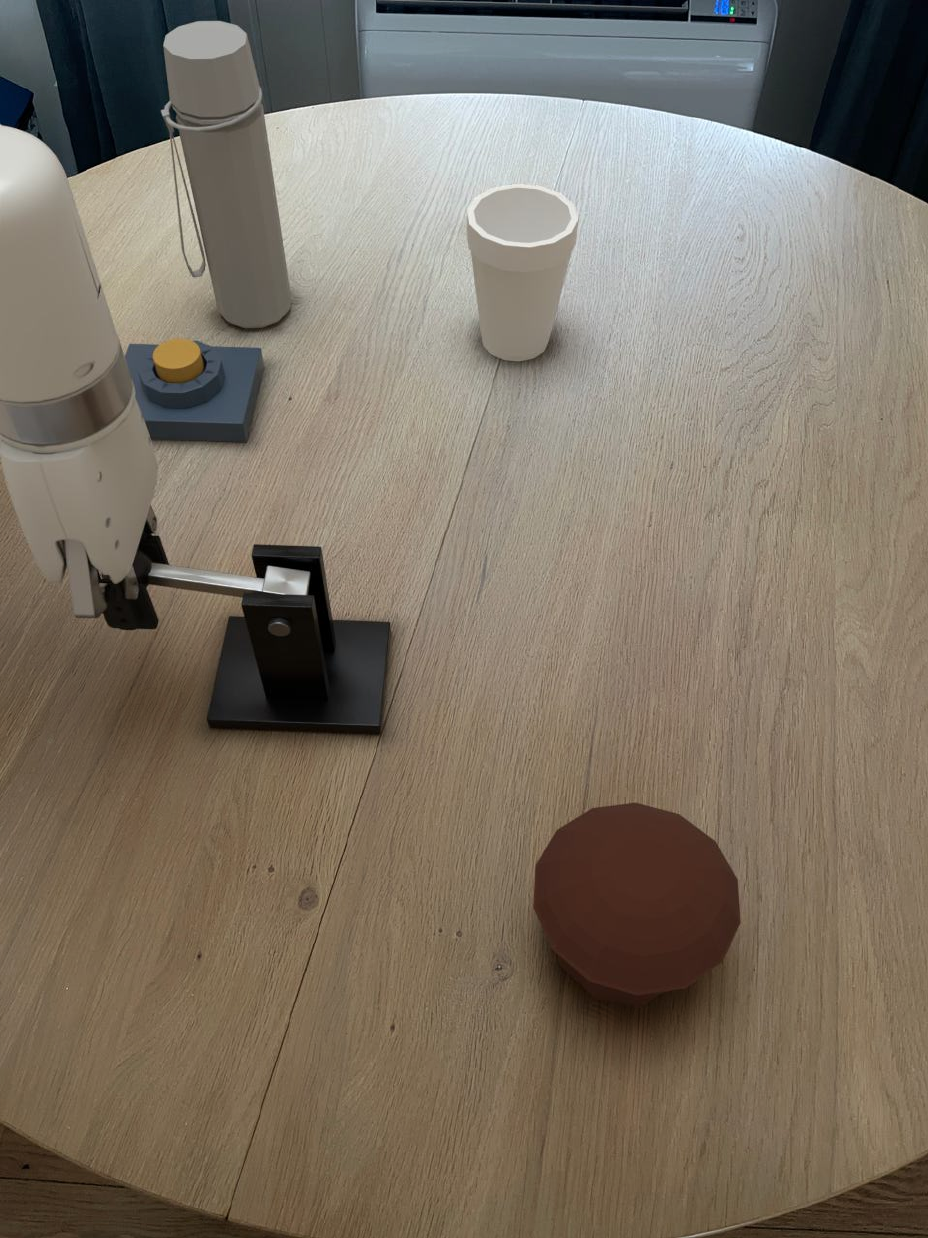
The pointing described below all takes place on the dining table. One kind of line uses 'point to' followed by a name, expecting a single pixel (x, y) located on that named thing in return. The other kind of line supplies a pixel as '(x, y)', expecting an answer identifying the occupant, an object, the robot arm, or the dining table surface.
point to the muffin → (635, 902)
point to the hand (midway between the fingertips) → (141, 599)
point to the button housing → (199, 394)
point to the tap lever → (219, 579)
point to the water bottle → (227, 170)
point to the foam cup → (519, 265)
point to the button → (178, 361)
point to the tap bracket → (299, 659)
